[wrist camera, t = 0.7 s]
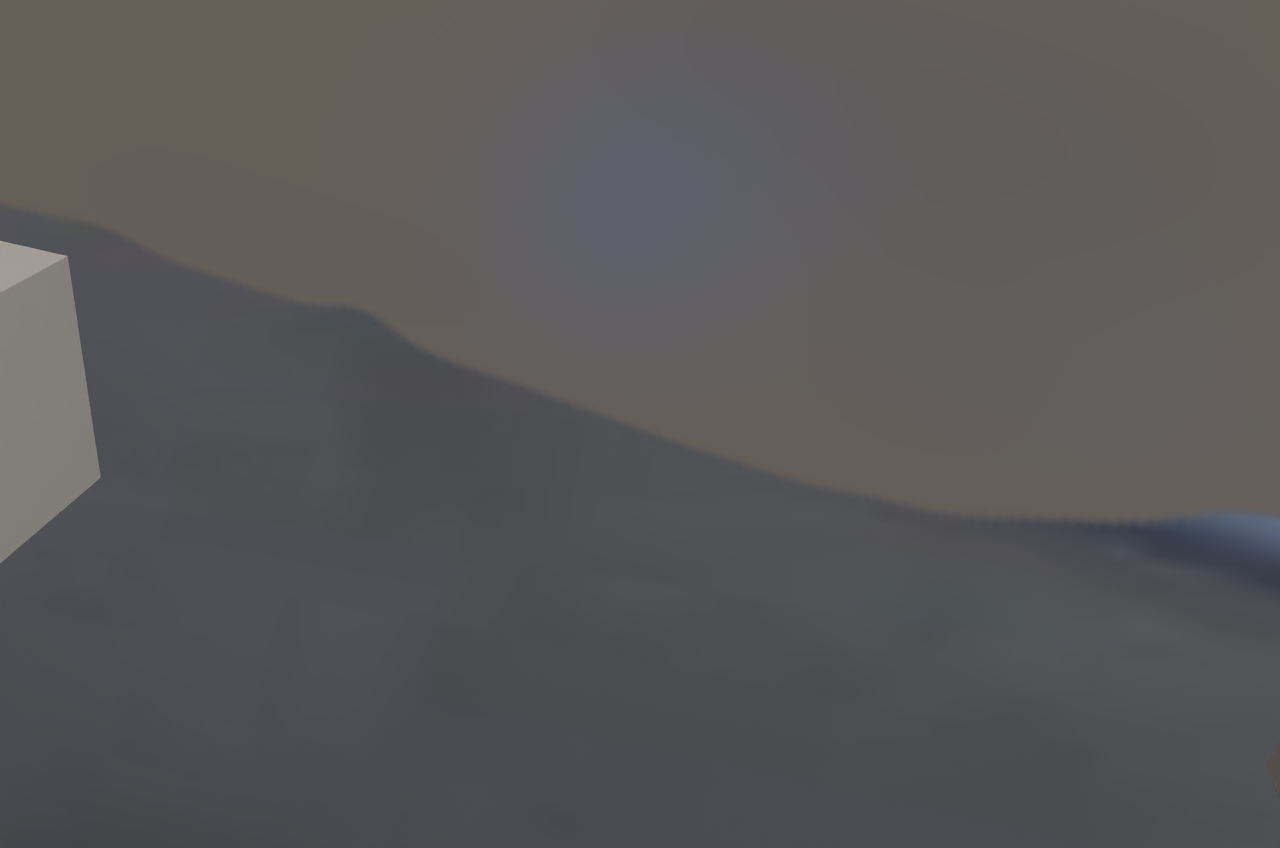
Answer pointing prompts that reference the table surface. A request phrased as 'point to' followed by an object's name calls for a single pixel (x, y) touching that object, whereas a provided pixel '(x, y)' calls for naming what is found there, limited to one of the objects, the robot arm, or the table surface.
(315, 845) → the table surface
